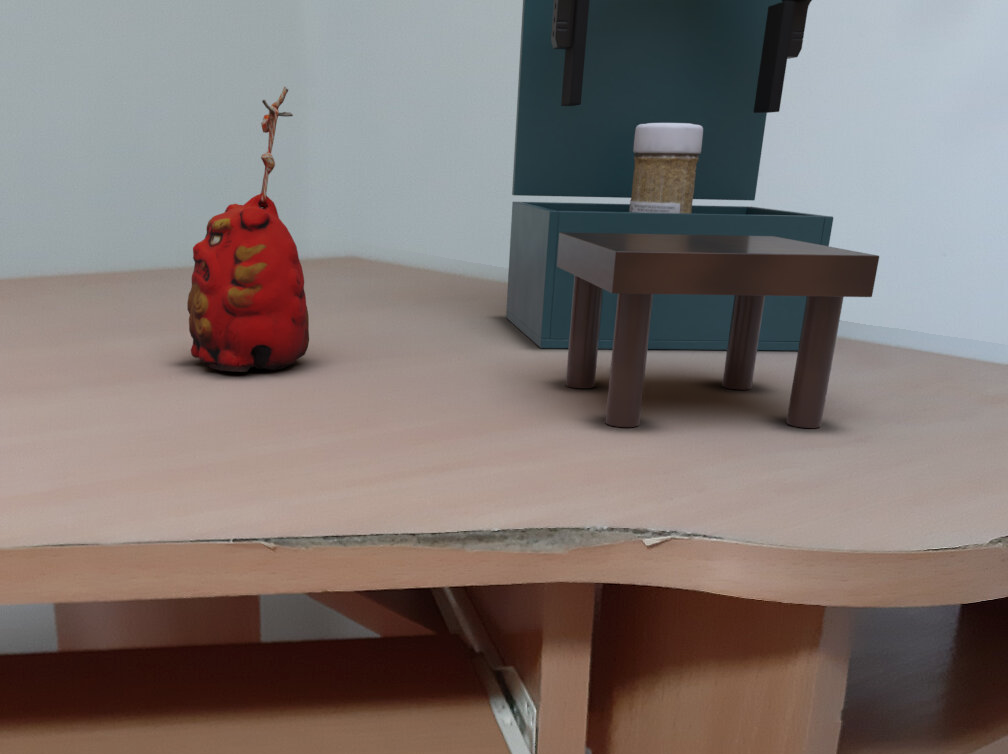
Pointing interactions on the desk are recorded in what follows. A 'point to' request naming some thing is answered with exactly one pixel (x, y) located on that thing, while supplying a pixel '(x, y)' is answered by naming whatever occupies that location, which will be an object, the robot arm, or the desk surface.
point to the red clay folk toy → (249, 283)
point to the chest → (674, 318)
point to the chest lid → (641, 95)
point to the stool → (707, 271)
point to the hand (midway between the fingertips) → (669, 109)
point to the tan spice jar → (665, 167)
